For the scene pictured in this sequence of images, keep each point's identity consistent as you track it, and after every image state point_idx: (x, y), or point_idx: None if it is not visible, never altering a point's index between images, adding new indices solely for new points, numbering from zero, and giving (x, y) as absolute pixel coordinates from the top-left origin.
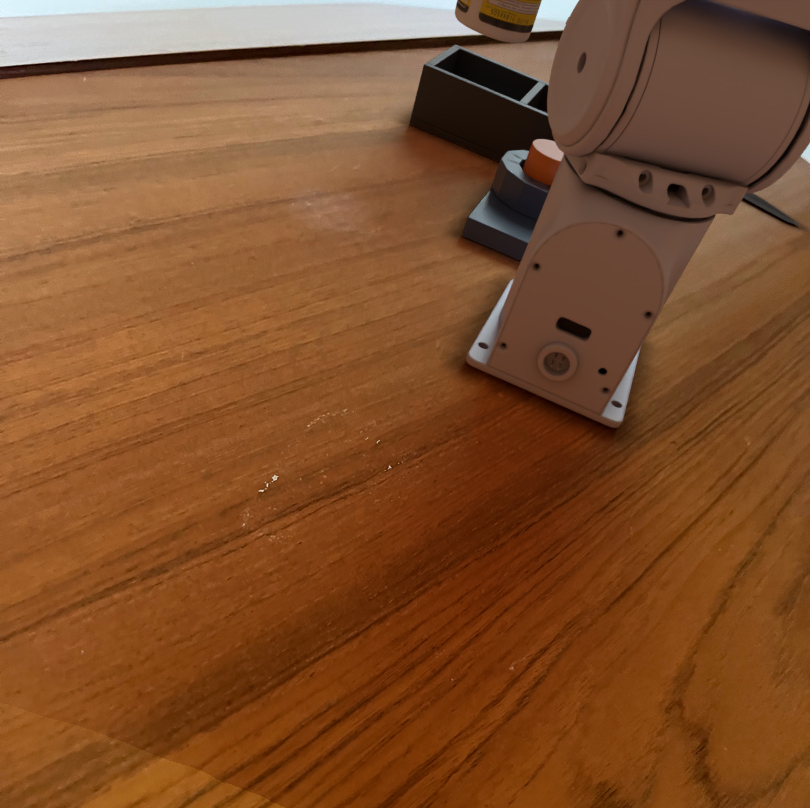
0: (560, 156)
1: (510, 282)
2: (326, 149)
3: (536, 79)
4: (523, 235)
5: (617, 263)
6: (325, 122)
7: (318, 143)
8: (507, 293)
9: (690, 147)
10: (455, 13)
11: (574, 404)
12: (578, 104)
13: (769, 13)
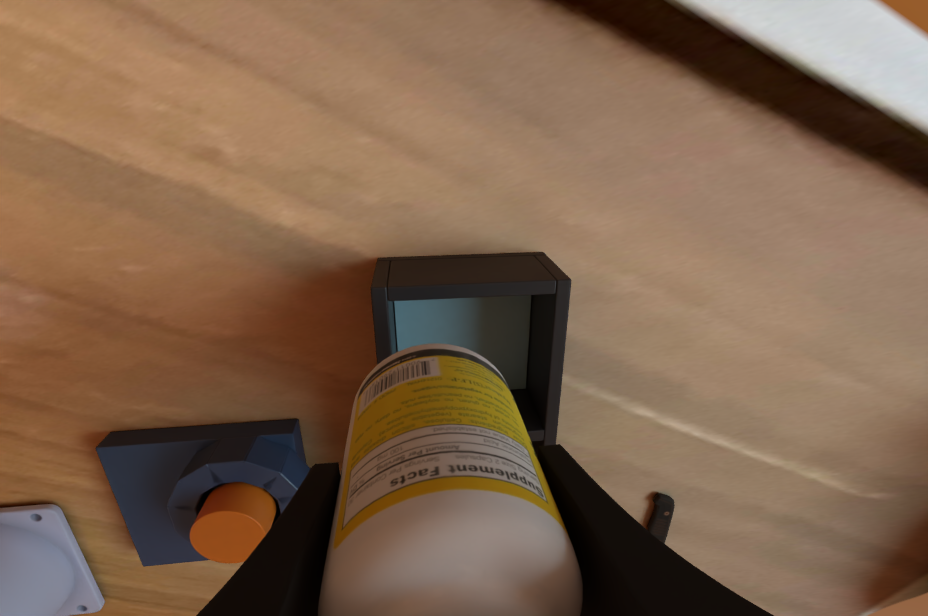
0: (212, 546)
1: (36, 511)
2: (133, 210)
3: (548, 426)
4: (132, 501)
5: None
6: (226, 161)
7: (137, 192)
8: (10, 515)
9: None
10: (395, 353)
11: None
12: None
13: None
